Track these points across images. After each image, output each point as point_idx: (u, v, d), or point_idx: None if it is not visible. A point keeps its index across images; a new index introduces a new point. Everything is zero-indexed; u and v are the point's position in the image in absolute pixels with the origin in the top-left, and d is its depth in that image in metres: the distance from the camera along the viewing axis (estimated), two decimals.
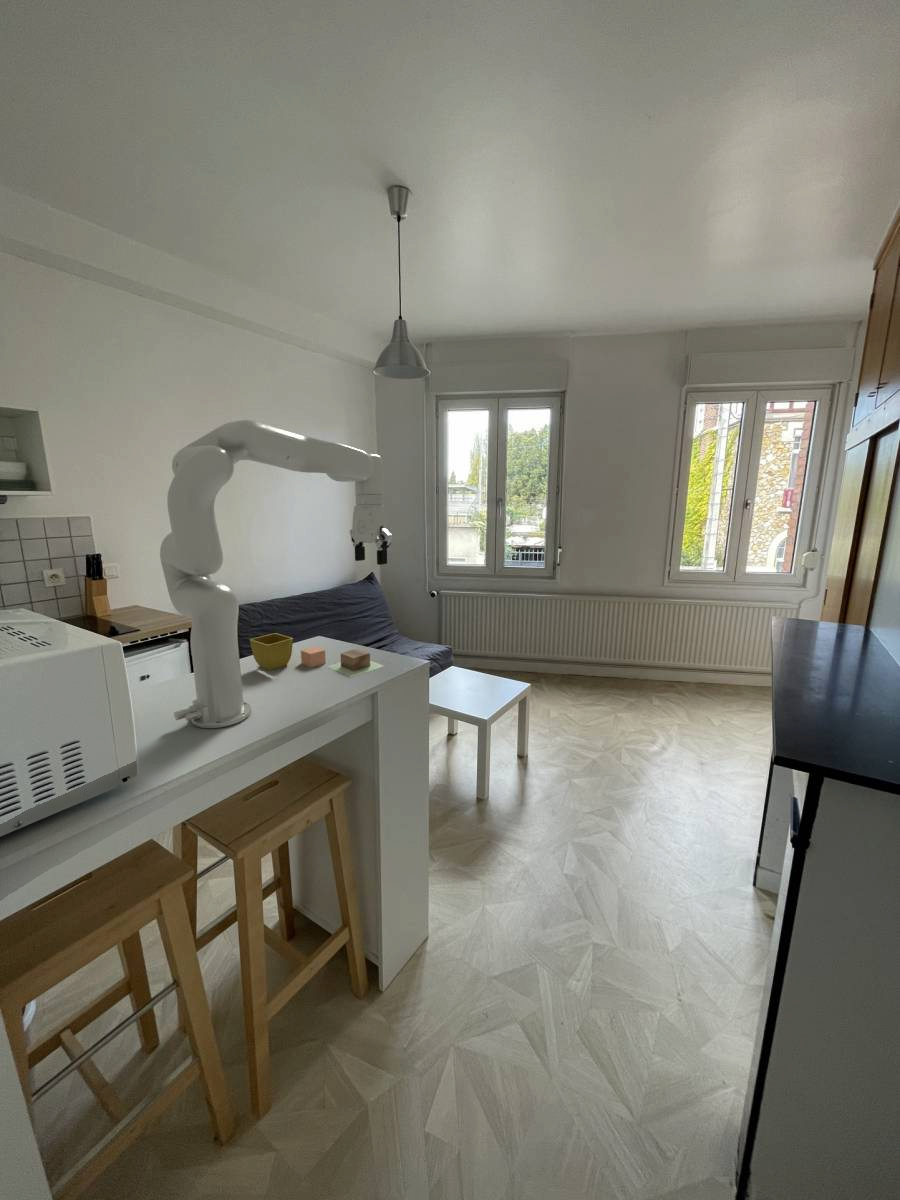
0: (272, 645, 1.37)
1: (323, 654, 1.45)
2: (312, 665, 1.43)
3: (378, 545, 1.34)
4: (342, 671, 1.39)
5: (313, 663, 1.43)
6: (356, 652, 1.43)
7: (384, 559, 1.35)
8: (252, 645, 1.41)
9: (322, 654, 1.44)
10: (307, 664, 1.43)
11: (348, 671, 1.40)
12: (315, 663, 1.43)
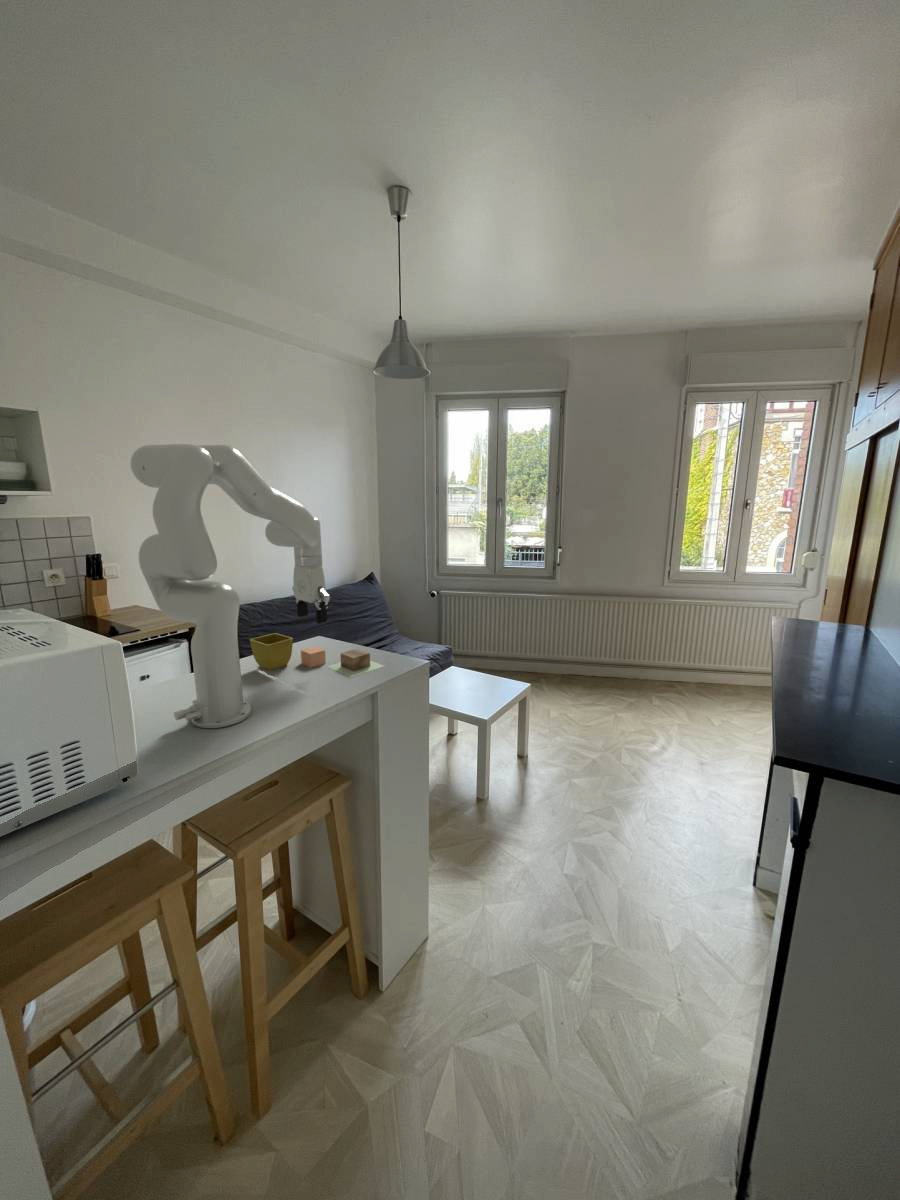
0: (272, 645, 1.37)
1: (323, 654, 1.45)
2: (312, 665, 1.43)
3: (317, 605, 1.38)
4: (342, 671, 1.39)
5: (313, 663, 1.43)
6: (356, 652, 1.43)
7: (323, 618, 1.39)
8: (252, 645, 1.41)
9: (322, 654, 1.44)
10: (307, 664, 1.43)
11: (348, 671, 1.40)
12: (315, 663, 1.43)
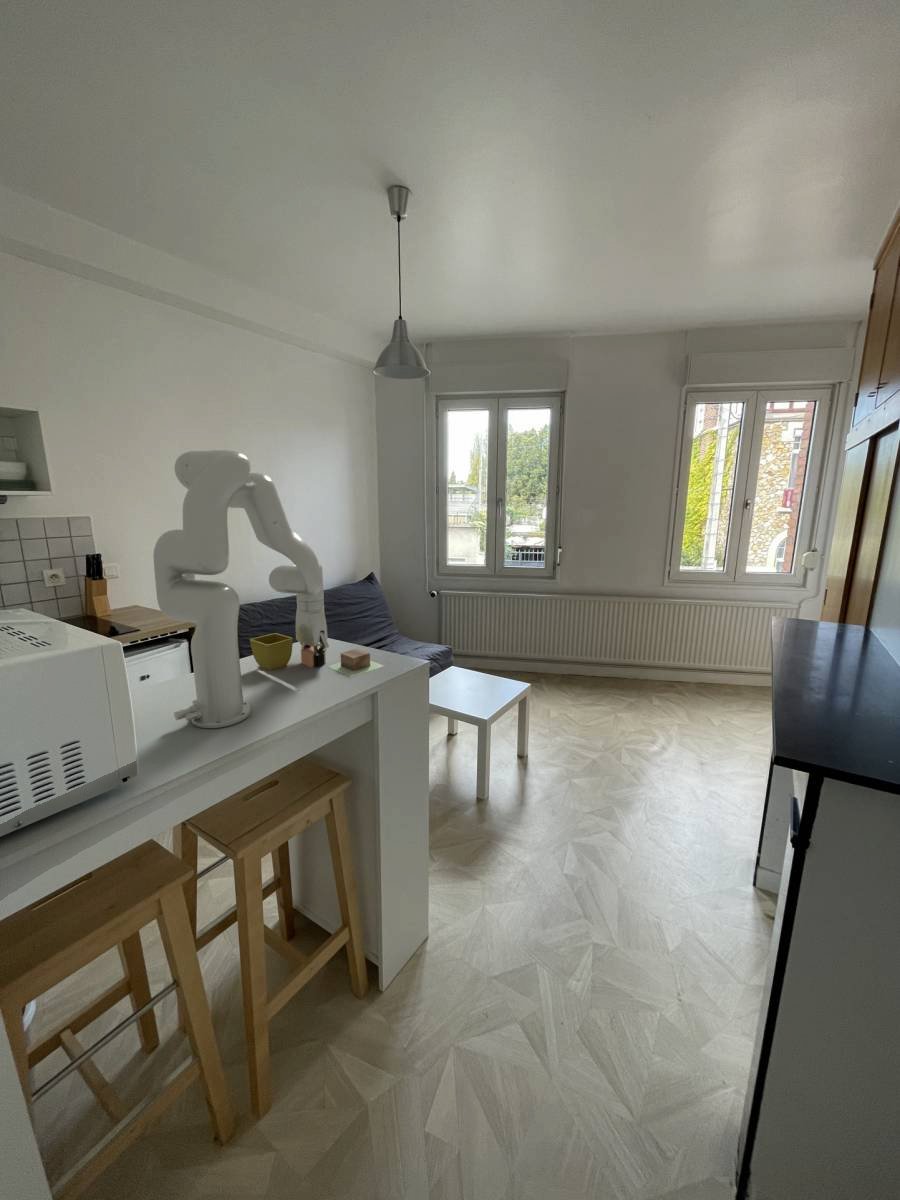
0: (272, 645, 1.37)
1: None
2: (312, 665, 1.43)
3: (315, 650, 1.41)
4: (342, 671, 1.39)
5: (313, 662, 1.43)
6: (356, 652, 1.43)
7: (321, 663, 1.43)
8: (252, 645, 1.41)
9: None
10: (307, 664, 1.43)
11: (348, 671, 1.40)
12: None
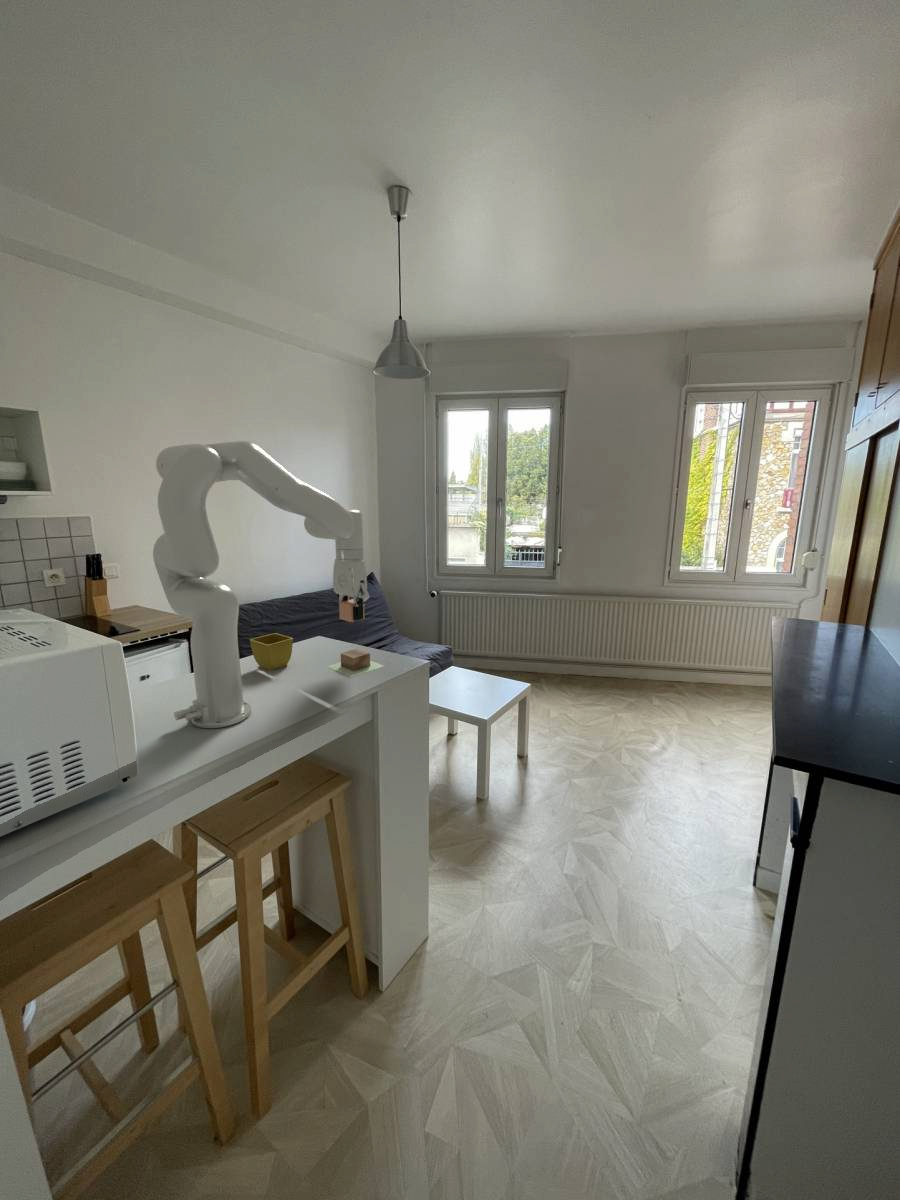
0: (272, 645, 1.37)
1: None
2: (351, 617, 1.37)
3: (355, 601, 1.36)
4: (342, 671, 1.39)
5: None
6: (356, 652, 1.43)
7: (360, 615, 1.38)
8: (252, 645, 1.41)
9: None
10: (346, 616, 1.38)
11: (348, 671, 1.40)
12: None
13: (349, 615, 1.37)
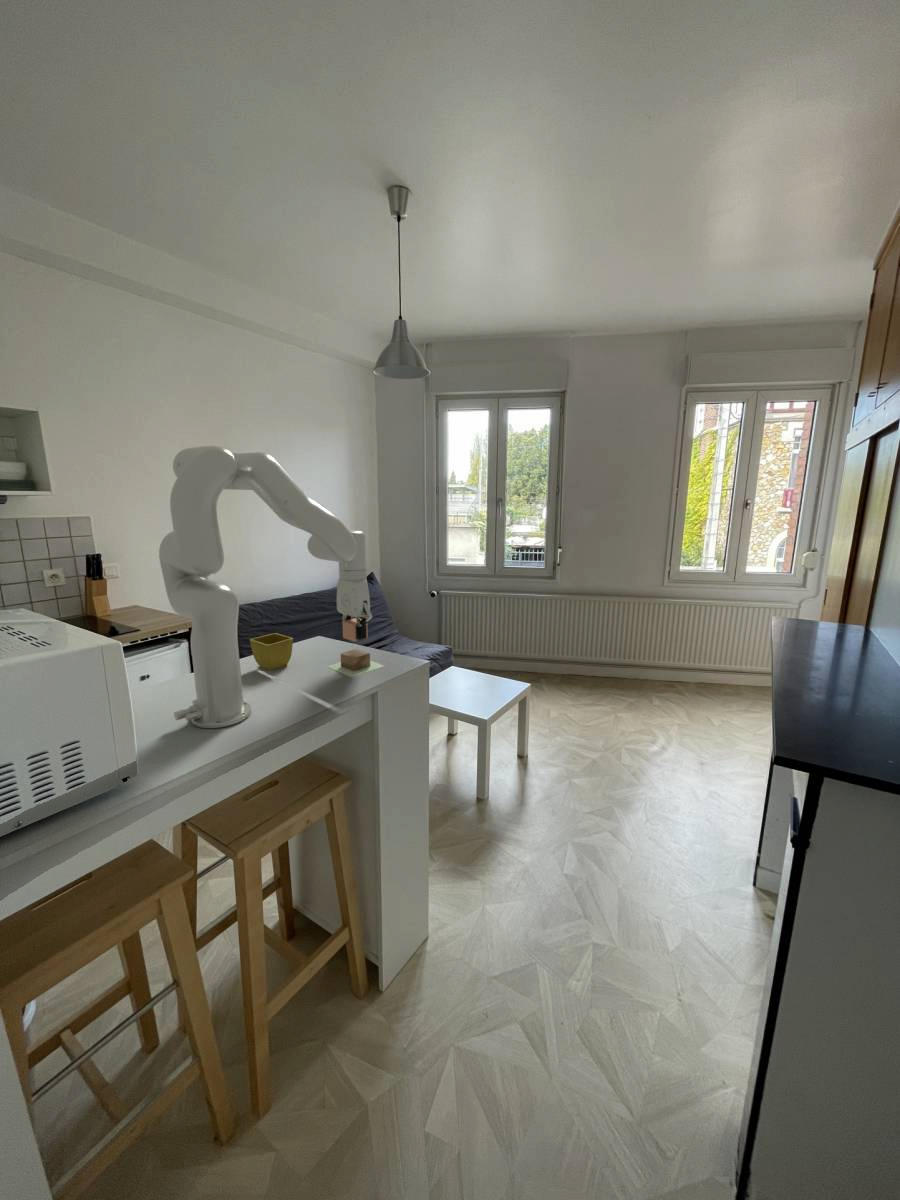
0: (272, 645, 1.37)
1: None
2: (355, 636, 1.39)
3: (358, 621, 1.37)
4: (342, 671, 1.39)
5: None
6: (356, 652, 1.43)
7: (363, 634, 1.39)
8: (252, 645, 1.41)
9: None
10: (349, 635, 1.39)
11: (348, 671, 1.40)
12: None
13: (352, 635, 1.38)
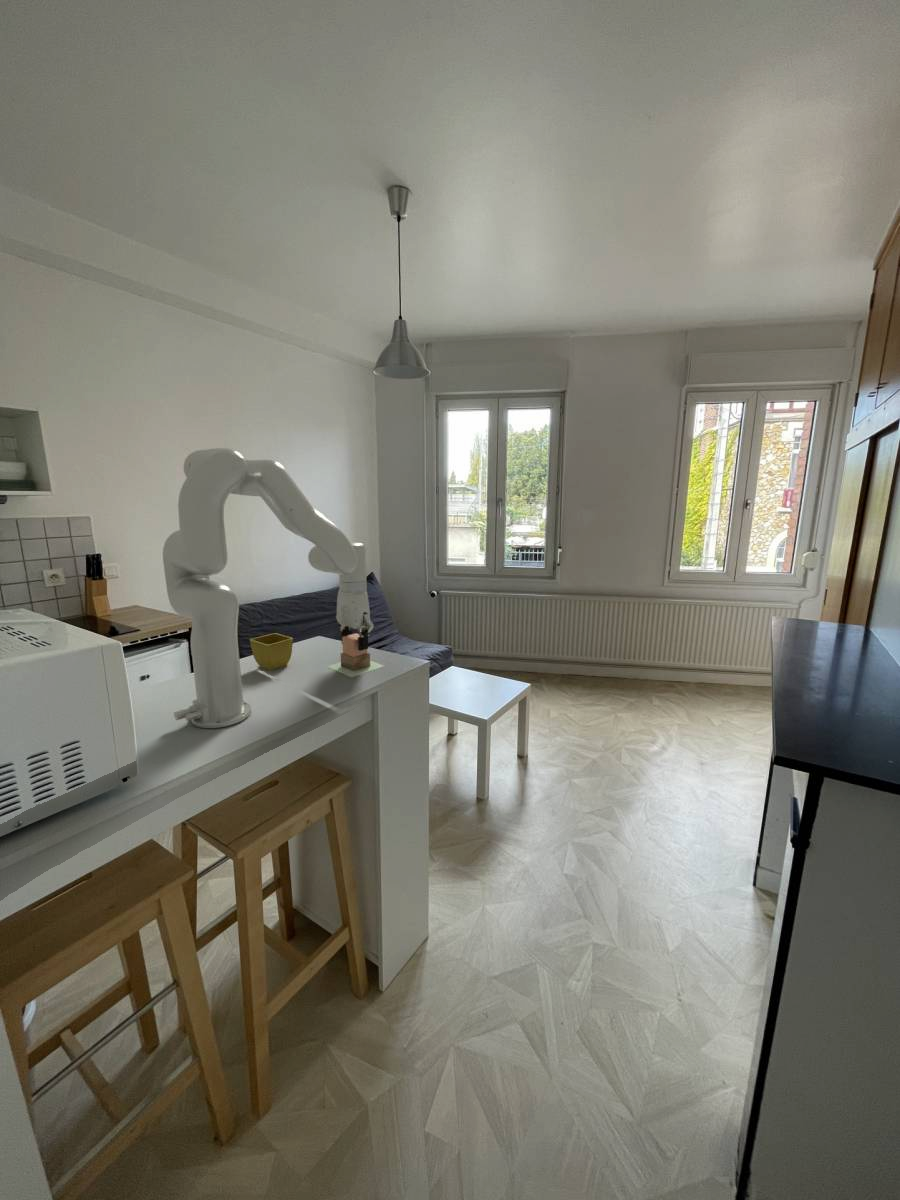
0: (272, 645, 1.37)
1: None
2: (354, 652, 1.39)
3: (359, 632, 1.37)
4: (342, 671, 1.39)
5: (356, 649, 1.40)
6: None
7: (365, 645, 1.39)
8: (252, 645, 1.41)
9: None
10: (349, 651, 1.40)
11: (348, 671, 1.40)
12: (357, 650, 1.40)
13: (352, 650, 1.39)
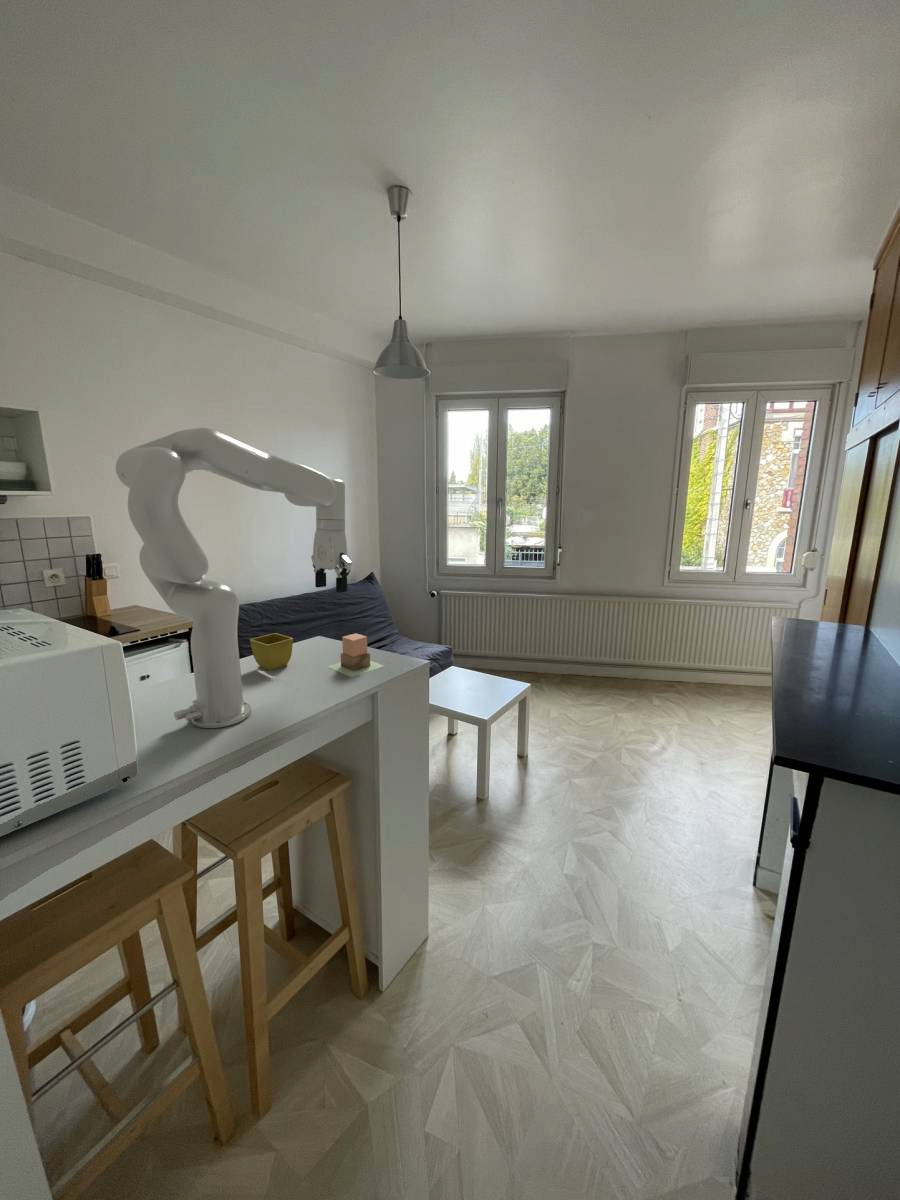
0: (272, 645, 1.37)
1: (365, 640, 1.42)
2: (354, 652, 1.39)
3: (337, 572, 1.29)
4: (342, 671, 1.39)
5: (356, 649, 1.40)
6: None
7: (343, 587, 1.30)
8: (252, 645, 1.41)
9: (364, 641, 1.41)
10: (349, 651, 1.40)
11: (348, 671, 1.40)
12: (357, 650, 1.40)
13: (352, 650, 1.39)
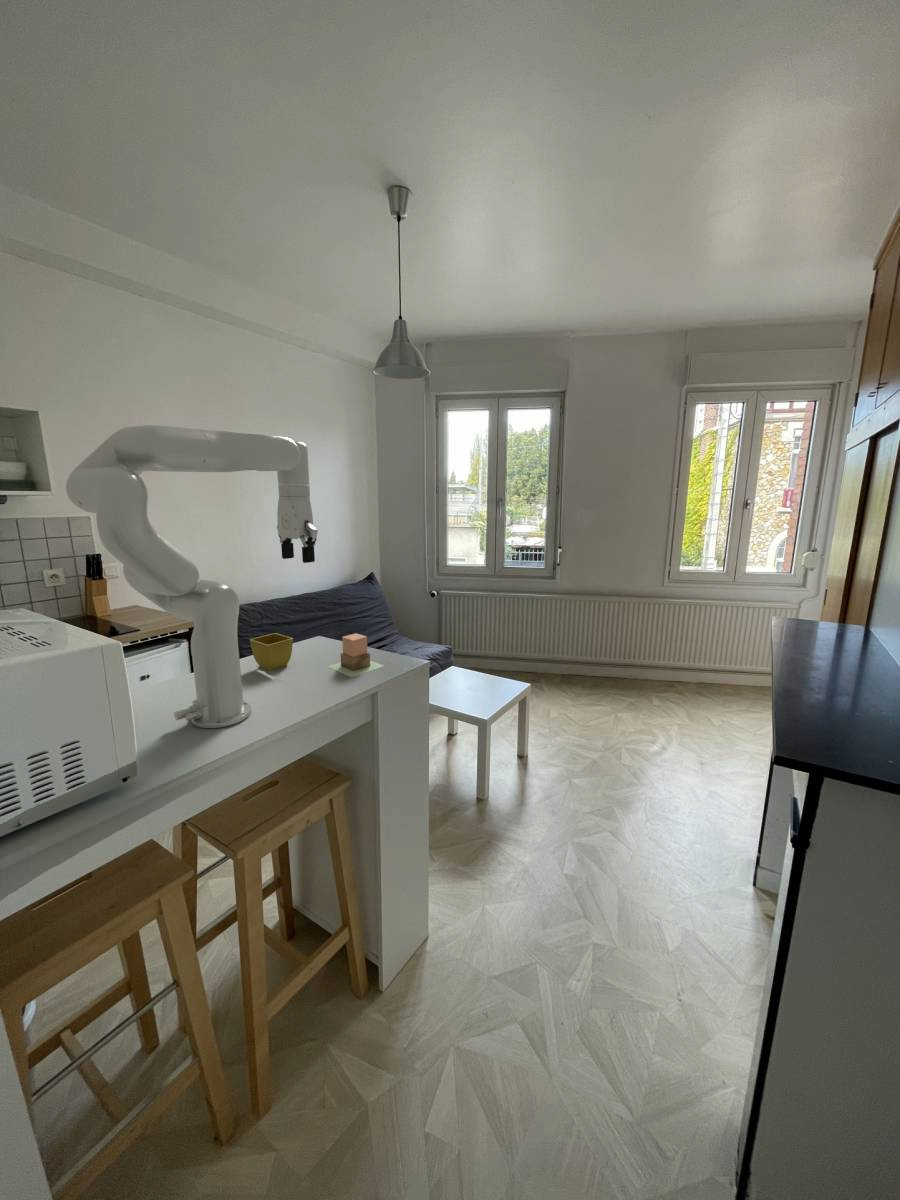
0: (272, 645, 1.37)
1: (365, 640, 1.42)
2: (354, 652, 1.39)
3: (303, 541, 1.22)
4: (342, 671, 1.39)
5: (356, 649, 1.40)
6: None
7: (310, 557, 1.23)
8: (252, 645, 1.41)
9: (364, 641, 1.41)
10: (349, 651, 1.40)
11: (348, 671, 1.40)
12: (357, 650, 1.40)
13: (352, 650, 1.39)
